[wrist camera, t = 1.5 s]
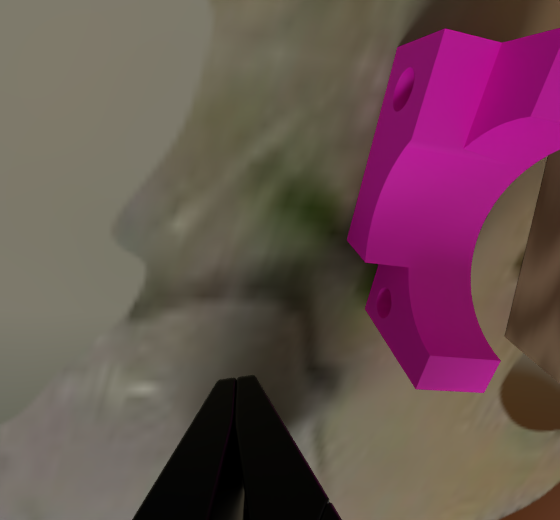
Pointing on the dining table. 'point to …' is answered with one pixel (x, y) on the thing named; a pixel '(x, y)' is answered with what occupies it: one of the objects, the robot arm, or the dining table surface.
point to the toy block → (448, 189)
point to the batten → (541, 280)
